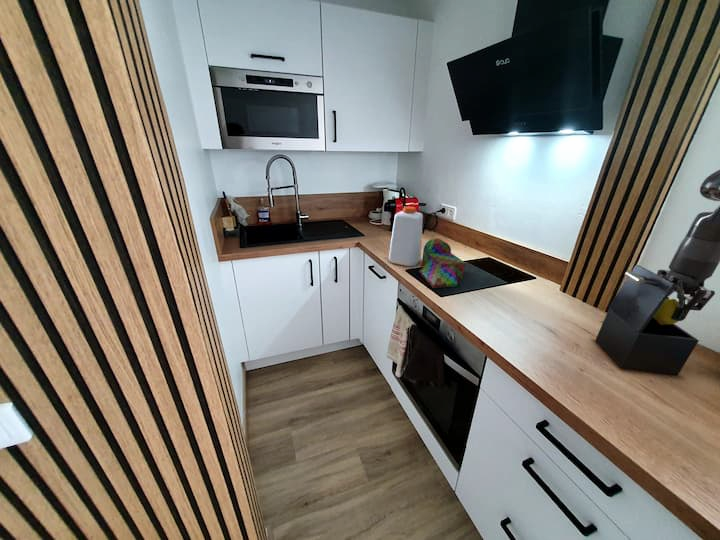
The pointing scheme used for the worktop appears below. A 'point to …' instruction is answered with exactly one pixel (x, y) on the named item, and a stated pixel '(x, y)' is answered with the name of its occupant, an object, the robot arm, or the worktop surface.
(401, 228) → the plastic bottle
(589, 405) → the worktop surface
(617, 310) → the bin lid
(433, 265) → the rainbow lumpy figurine
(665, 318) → the lemon
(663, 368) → the bin
